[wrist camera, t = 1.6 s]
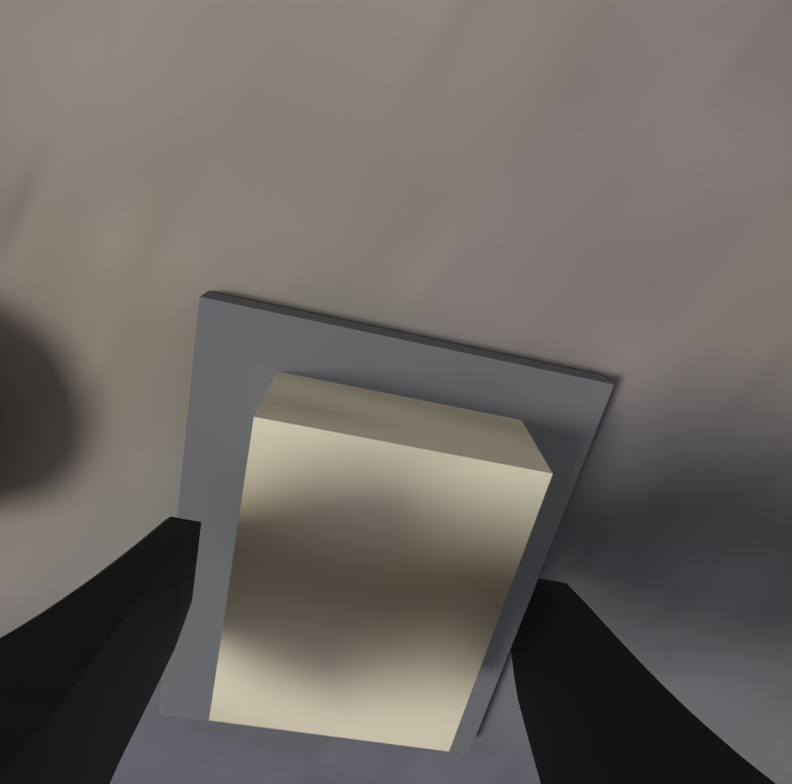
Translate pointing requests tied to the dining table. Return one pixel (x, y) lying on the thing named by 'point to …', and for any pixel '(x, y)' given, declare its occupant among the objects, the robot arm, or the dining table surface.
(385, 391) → the mat
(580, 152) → the dining table surface
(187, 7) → the dining table surface
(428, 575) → the block
